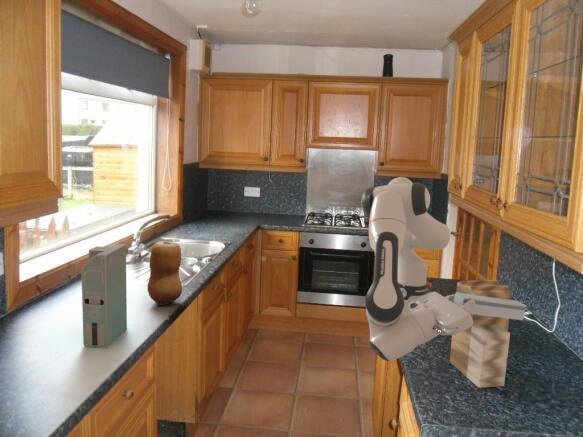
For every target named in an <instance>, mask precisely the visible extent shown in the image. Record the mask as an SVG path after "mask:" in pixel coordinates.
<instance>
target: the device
mask: <svg viewBox="0 0 583 437" xmlns="http://www.w3.org/2000/svg"><path fill="white" fill-rule="evenodd" d="M81 300H82V301H81V305H82V306H81V307H82V340H83V343H82V344H83V346H84V347H86V348H97V349H98V348H100V349H108V348H109V347H111V346H112V344H114V343H115V341H117V340H118V338H119V337H121V336H122V335H123V334H124V333H125V332H126V330H128V317H127V316H128V312H127V310H128V309H127V308H128V306H127V304H128V302H127V245H126V243H117V244H115V245H113V246H95V247H93V248H90V249H89V250H88V260H87V262H86V263H85V264H84V265H83V266H81Z"/></svg>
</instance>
